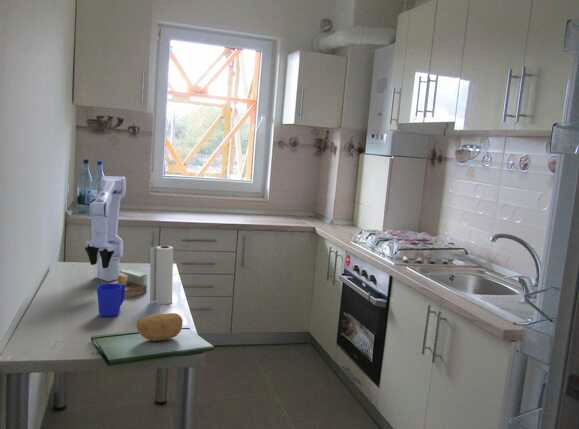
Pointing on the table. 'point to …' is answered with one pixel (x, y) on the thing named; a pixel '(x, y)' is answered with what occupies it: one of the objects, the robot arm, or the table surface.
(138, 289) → the socket block
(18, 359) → the table surface
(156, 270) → the paper towel roll
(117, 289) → the mug
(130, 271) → the pale green grooved slab
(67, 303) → the table surface
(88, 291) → the table surface
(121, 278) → the peg
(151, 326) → the potato
